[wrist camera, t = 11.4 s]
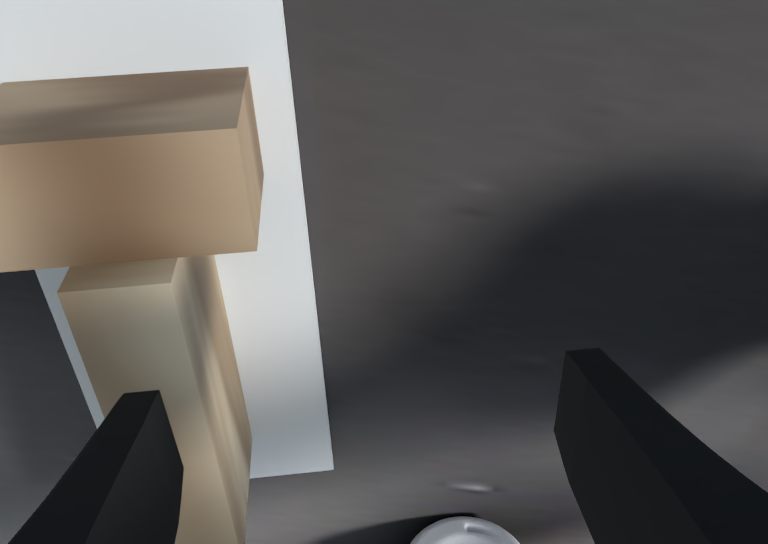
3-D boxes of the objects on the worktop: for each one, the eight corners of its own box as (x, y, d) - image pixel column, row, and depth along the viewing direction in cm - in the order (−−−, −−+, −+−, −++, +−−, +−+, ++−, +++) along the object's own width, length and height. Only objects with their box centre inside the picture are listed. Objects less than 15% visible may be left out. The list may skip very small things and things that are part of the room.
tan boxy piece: (248, 66, 17) (233, 148, 13) (301, 432, 25) (302, 557, 21) (3, 82, 17) (-92, 171, 13) (134, 450, 24) (102, 579, 20)
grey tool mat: (261, -188, 15) (260, -188, 14) (333, 459, 27) (333, 469, 26) (-127, -174, 14) (-140, -173, 14) (124, 481, 26) (121, 491, 26)
